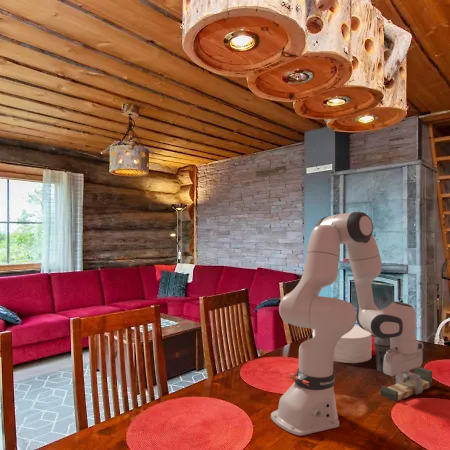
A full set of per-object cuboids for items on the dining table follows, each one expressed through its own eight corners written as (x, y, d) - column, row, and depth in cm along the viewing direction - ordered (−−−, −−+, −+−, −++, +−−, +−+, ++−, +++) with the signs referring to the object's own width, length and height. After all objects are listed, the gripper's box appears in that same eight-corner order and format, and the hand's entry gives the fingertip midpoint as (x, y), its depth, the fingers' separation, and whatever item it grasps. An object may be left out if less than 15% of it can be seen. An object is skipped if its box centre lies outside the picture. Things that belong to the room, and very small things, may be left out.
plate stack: (309, 342, 196) (310, 321, 196) (363, 345, 192) (363, 323, 193) (315, 361, 169) (315, 336, 169) (378, 364, 165) (378, 339, 165)
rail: (396, 401, 129) (396, 384, 129) (380, 395, 134) (380, 378, 134) (432, 386, 142) (432, 370, 142) (416, 380, 147) (416, 366, 147)
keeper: (416, 394, 134) (416, 378, 134) (395, 386, 141) (395, 371, 141) (422, 392, 136) (422, 376, 136) (401, 384, 143) (401, 369, 143)
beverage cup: (393, 374, 153) (393, 327, 154) (375, 373, 155) (375, 326, 155) (389, 368, 160) (389, 322, 161) (372, 366, 162) (372, 321, 162)
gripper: (394, 352, 128) (394, 392, 128) (425, 343, 139) (425, 379, 139) (378, 347, 134) (378, 385, 134) (410, 338, 145) (410, 373, 145)
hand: (402, 382), depth 136 cm, fingers closed
